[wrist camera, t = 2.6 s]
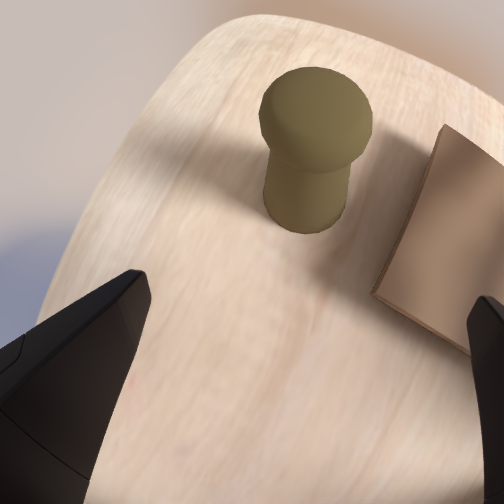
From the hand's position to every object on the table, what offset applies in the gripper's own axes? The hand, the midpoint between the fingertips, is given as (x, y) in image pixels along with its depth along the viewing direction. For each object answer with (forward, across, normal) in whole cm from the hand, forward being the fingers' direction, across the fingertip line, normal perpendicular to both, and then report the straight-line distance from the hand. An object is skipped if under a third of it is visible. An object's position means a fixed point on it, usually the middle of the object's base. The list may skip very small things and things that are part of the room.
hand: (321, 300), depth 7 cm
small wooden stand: (+12, -14, +7) cm, 20 cm away
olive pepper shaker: (+16, 0, +4) cm, 16 cm away
